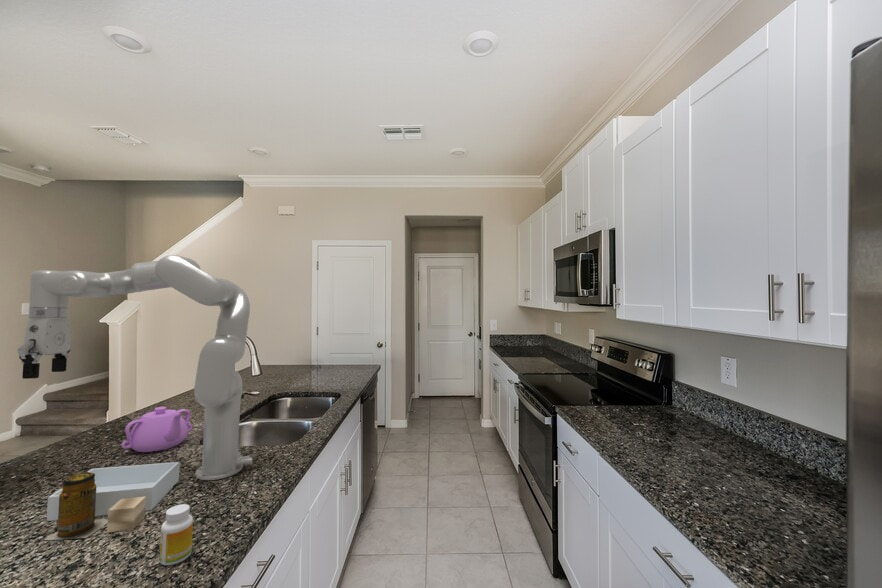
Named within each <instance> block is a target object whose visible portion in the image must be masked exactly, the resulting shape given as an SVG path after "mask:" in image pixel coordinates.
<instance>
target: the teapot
mask: <svg viewBox="0 0 882 588" xmlns="http://www.w3.org/2000/svg"><path fill="white" fill-rule="evenodd" d="M183 413H185V418H184V417H183V416H182V414H183ZM190 419H191V412H190V410H189V409H185V408H182V409H178V410H176V409H167V406H159V407H155V408H154V410H153V411H150V412H146V413H144V414H143V415H141V416H140V418H139V419H134V420H131V421H130V422H128V423H127V424H126V425H125V428H124V433H125V436H126V438H127V439H124V440H123V441H122V442H121V448H122V449H124V450H125V449H126V450H127V449H130V448H131V449H132V450H133V451H135V452H138V453H154V452H153V451H155V452H159V451H164V450H168V449H170V448H174V447H176V446H179V445H180V444H181V443H182V442H183V441H184V440H185V439H186V438H187V437H188V435H189V432H190V431H191V430H192V429H193V425H192V424H191V423H189V421H190ZM133 425H134V426H133ZM132 426H133V427H132ZM131 427H132V429H131Z"/></svg>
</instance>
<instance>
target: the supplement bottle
mask: <svg viewBox="0 0 882 588" xmlns="http://www.w3.org/2000/svg"><path fill="white" fill-rule="evenodd" d="M190 507H191V506H190V505H189V504H186V503H183V504H182V503H181V504H177V505H174V506H171V507H170V508H168V509H167V510H166V513H165V520H164V522H163V523H162V525H161V528H160V541H159V563H160V564H161V565H163V566H172V565H173V566H174V565H177V564H179V563H181V562H183V561H185V560H186V559H187V558H189V556H190V555H191V554H192V551H193V532H194V531H193V530H194V529H193V528H194V523H193V522H194V517H193V516H192V515H191V514H190V510H191V508H190Z"/></svg>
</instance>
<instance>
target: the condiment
mask: <svg viewBox="0 0 882 588" xmlns="http://www.w3.org/2000/svg"><path fill="white" fill-rule="evenodd" d="M94 477H95V474H94V473H92V472H88V471H86V472H84V471H83V472H79V473H76V474H72V475H69V476H67V477H66V478H64V479H63V481H62V487H61V488H62V492H61V493H60V495H59V496H60V497H59V508H58V520H57V531H56V532H54V533H53V534H51V535H49V536H47V537H46V538H45V539H43V540H44V541H58V540H62V541H63V540H68V539H69V540H73V539H74V540H77V539H86V538H88V537H89V536H91V535H93V534H94V533H96V532H97V531H99V530H100V529H102V528H103V527H104V526H105V525H107V524H108V518H107V519H106V518H102V519H101V518H99V519H96V516H95V505H96V484H95V479H94Z"/></svg>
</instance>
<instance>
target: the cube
mask: <svg viewBox="0 0 882 588" xmlns="http://www.w3.org/2000/svg"><path fill="white" fill-rule="evenodd" d="M145 504H146V496H145V497H135V498H125V499H121V500H120V501H118V502H117V503H116V504H115V505H114V506H113V507H112V508H110V509H109V510H108V515H107V519H108V523H107V524H106V526H107V527H106V532H107V533H114V532H123V531H131V529H132V530H134V529H135V528H136V527H137V526H138V525H139V524H140V523H141V522H142V521H143V520H144V519H145V517H146V511H145ZM141 520H142V521H141Z"/></svg>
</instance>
